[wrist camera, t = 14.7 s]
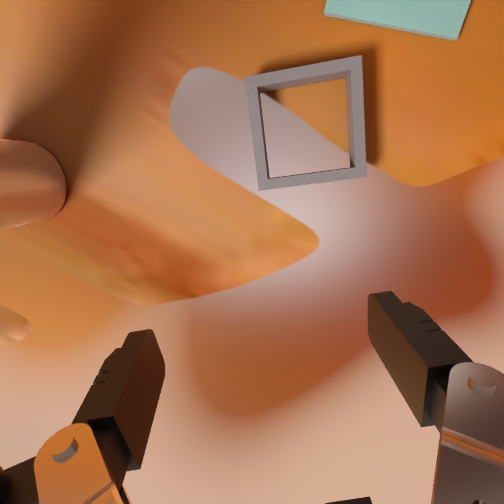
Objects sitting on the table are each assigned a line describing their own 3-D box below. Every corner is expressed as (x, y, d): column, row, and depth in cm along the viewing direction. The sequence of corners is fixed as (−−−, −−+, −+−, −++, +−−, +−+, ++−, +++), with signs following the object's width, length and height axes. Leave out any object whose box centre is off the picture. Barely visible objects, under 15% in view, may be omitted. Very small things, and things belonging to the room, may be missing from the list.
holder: (360, 176, 32) (366, 176, 29) (261, 188, 33) (259, 190, 31) (356, 64, 29) (362, 54, 27) (248, 83, 31) (244, 76, 28)
